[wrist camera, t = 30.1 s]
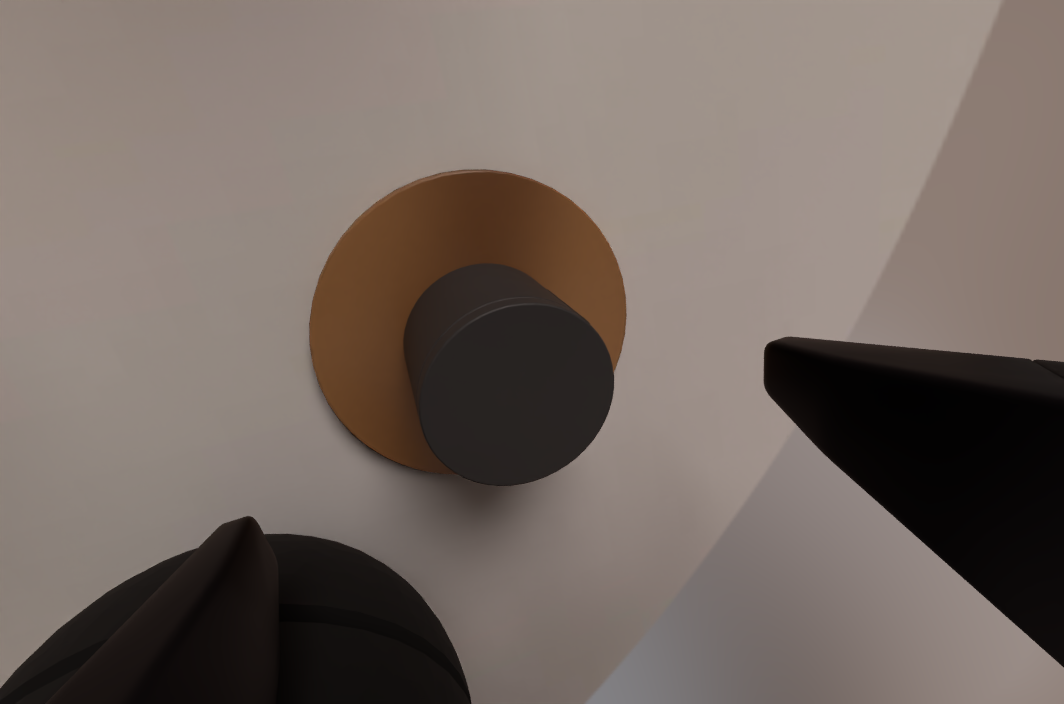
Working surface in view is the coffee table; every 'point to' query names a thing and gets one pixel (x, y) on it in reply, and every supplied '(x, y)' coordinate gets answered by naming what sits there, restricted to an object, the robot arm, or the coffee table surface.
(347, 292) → the coaster
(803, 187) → the coffee table surface
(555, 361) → the cap
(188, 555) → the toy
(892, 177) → the coffee table surface
